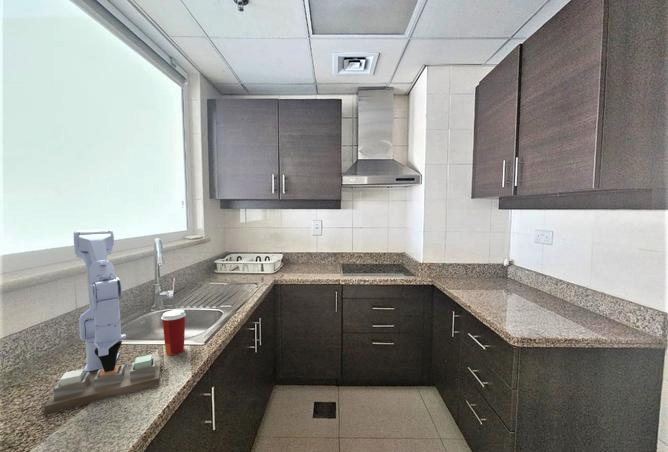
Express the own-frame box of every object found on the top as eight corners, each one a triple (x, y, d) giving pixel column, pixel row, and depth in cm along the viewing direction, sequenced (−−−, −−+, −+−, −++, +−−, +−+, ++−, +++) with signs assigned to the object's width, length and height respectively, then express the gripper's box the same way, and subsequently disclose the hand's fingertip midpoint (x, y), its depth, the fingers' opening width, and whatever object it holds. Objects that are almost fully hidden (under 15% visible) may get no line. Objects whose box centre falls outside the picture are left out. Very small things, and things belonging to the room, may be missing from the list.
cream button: (65, 381, 79) (65, 372, 79) (84, 376, 81) (84, 368, 81) (60, 388, 75) (60, 379, 75) (80, 384, 77) (80, 375, 77)
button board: (61, 388, 81) (60, 373, 81) (160, 365, 93) (160, 352, 93) (44, 414, 71) (43, 396, 71) (159, 385, 82) (158, 370, 82)
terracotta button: (102, 376, 83) (102, 368, 83) (120, 372, 85) (119, 364, 84) (99, 383, 79) (99, 375, 79) (117, 379, 81) (117, 371, 81)
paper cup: (191, 346, 107) (189, 308, 106) (180, 356, 99) (179, 316, 98) (169, 346, 107) (168, 309, 106) (157, 357, 99) (155, 316, 98)
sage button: (136, 365, 86) (136, 357, 86) (152, 362, 88) (151, 354, 88) (134, 371, 83) (134, 363, 83) (151, 368, 85) (150, 360, 85)
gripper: (121, 328, 77) (123, 378, 77) (128, 312, 89) (130, 355, 90) (86, 334, 73) (89, 386, 74) (99, 316, 86) (101, 361, 87)
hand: (109, 370), depth 82 cm, fingers closed, pressing on terracotta button
